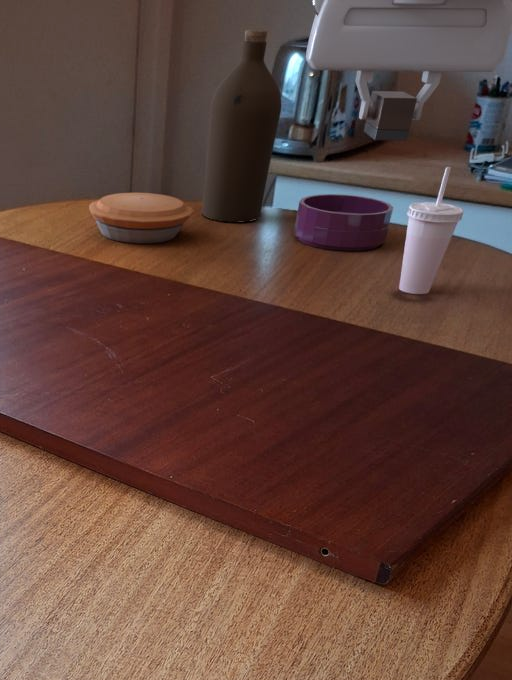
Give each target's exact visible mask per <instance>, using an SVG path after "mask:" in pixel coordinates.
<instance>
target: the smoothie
mask: <svg viewBox="0 0 512 680" xmlns="http://www.w3.org/2000/svg"><path fill="white" fill-rule="evenodd" d="M451 170H452V167H451V166H445V170H444V173H443V177H442V179H441V180H442V181H441V185H440V188H439V191H438V194H437V199H436V202H433V201H432V202H430V201H429V202H428V201H424V202H422V201H421V202H413V203H411V204H410V205H408V206H409V207H408V209H407V212H406V216H408V222H407V228H406V236H405V243H404V250H403V258H402V264H401V271H400V278H399V286H398V289H399V290H400V291H401V292H403V293H407V294H413V295H426V294H429V293H430V291H431V288H432V286H433V283H434V281H435V278H436V276H437V273H438V272H439V269H440V267H441V264H442V261H443V259H444V257H445V254H446V252H447V250H448V247H449V245H450V242H451V240H452V237H453V235H454V233H455V230H456V229H457V225H458V223H459V222H460V221H462V220H463V215H464V209H462V208H461V207H459V206H457V205H454V204H448V203H443V198H444V195H445V190H446V187H447V184H448V180H449V176H450V172H451Z"/></svg>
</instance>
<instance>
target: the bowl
mask: <svg viewBox="0 0 512 680" xmlns="http://www.w3.org/2000/svg"><path fill="white" fill-rule="evenodd" d="M298 202H299V203H298V207H297V212H296V218H295V224H294V229H293V230H294V231H293V234H294V235H295V237H297V239H298V240H299V242H301V243H303V244H305V245H308V246H311V247H315V248H318V249H324V250H331V251H332V250H333V251H340V252H342V251H343V252H358V251H361V252H362V251H368V250H373V249H376V248H378V247H379V246H380V245H382V244H384V243H385V241H386V239H387V236H388V233H389V227H390V223H391V219H392V215H393V211H394V206H393V205H391V203H389V202H386V201H384V200H381V199H377V198H373V197H367V196H361V195H353V194H337V193H336V194H335V193H328V194H322V193H321V194H314V195H308V196H305V197H301V198H300V200H299V201H298Z"/></svg>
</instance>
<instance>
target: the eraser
mask: <svg viewBox="0 0 512 680" xmlns="http://www.w3.org/2000/svg"><path fill="white" fill-rule="evenodd" d="M370 98H371V100H376V101H378V105H377V110H376V115H375V118H374V120H365V123H364V129H363V132H364V133H365V134H367V136H369V137H370V138H372V139H373V140H374V141H395V142H396V141H401V142H402V141H403V142H404V141H405V142H407V141H408V139H409V135H410V130H411V126H412V122H413V120H412V118H413V114H414V110H415V105H416V101H417V98H416V96H413V95H411V94H409V93H407V92H405V91H389V90H388V91H387V90H386V91H384V90H381V91H380V90H379V91H378V90H373V91H371V95H370Z"/></svg>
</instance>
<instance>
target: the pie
mask: <svg viewBox="0 0 512 680" xmlns="http://www.w3.org/2000/svg"><path fill="white" fill-rule="evenodd" d="M88 209H89V212H90V214H91V216H92V217H93V218H94V220H95V223H96V225H97V227H98V229H99V231H100V233H101V234H102V236H104V237H105V238H107V239H110V240H113V241H116V242H120V243H128V244H139V245H140V244H141V245H142V244H146V245H147V244H161V243H165V242H169V241H171V240H173V239H175V238H176V236H177V235H178V233H179V232H180V230H181V229H182V227H183V226H184V224H185V223H186V222H187V221H188V219H189V218H190V217H191V216H192V215H193V214H194V209H193V207H192V206H189V205H187V204H184V202H183V201H182V200H181V199H179V198H177V197H174V196H171V195H167V194H166V195H165V194H160V193H153V192H120V193H119V192H118V193H113V194H108V195H105V196H102V197H101V198H99V199H98V200H95V201H92V202H91V203H90V204H89V205H88Z"/></svg>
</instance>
